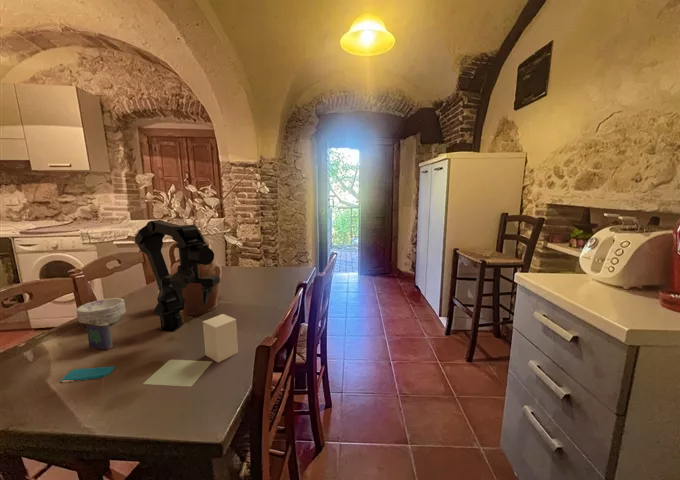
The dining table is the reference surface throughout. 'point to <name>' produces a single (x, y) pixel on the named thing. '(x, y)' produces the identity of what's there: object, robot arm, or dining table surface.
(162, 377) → the mat
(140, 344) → the dining table surface
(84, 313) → the paper bowls
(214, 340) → the upright cream box
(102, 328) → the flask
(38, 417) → the dining table surface
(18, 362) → the dining table surface
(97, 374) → the sponge
